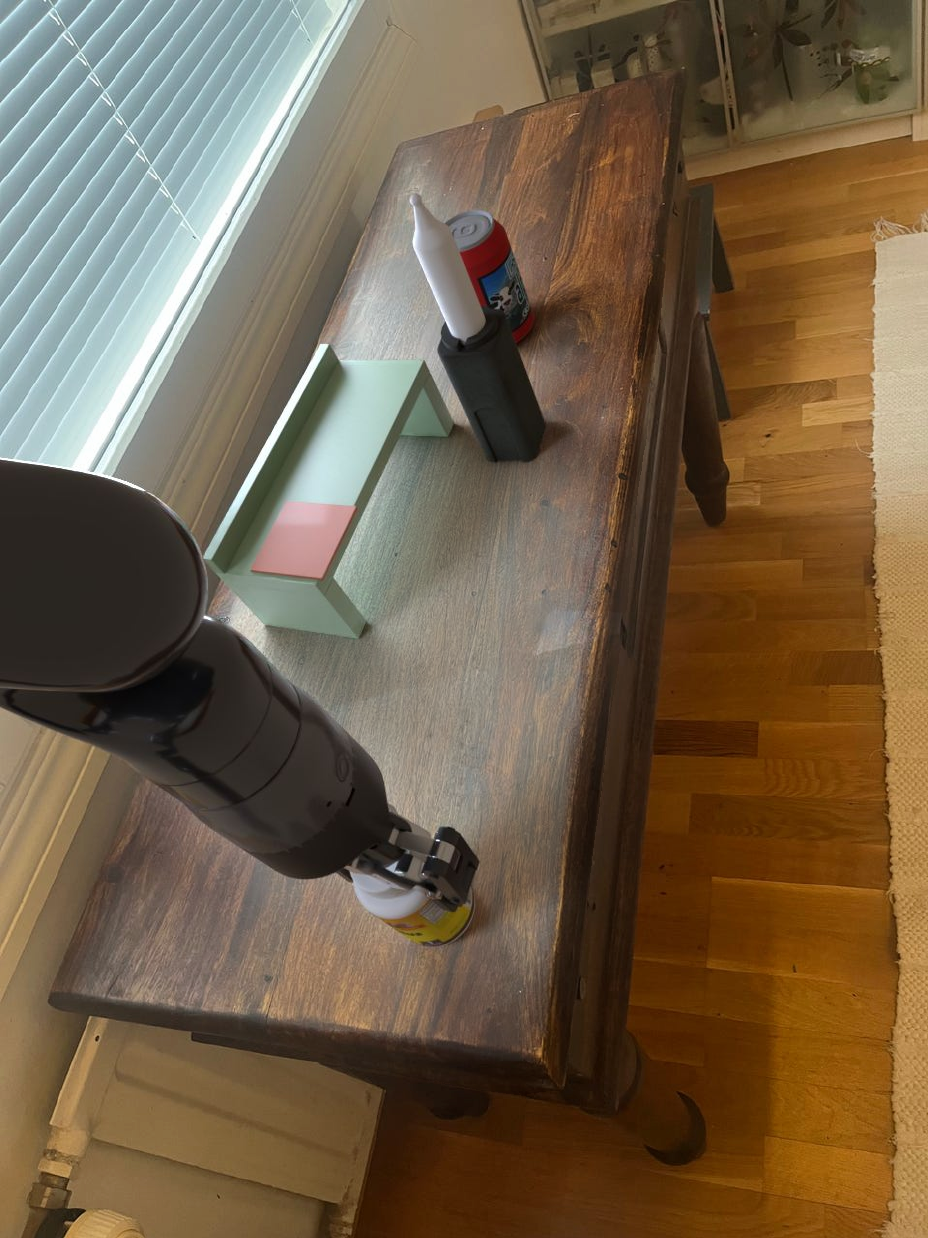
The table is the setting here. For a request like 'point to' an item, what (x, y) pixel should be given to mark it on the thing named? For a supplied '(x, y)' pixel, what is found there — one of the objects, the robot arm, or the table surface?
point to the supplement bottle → (413, 911)
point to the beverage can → (492, 267)
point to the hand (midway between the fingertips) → (408, 881)
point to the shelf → (320, 488)
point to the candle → (478, 350)
